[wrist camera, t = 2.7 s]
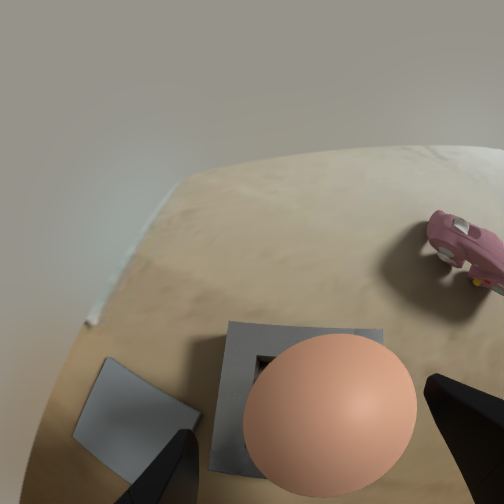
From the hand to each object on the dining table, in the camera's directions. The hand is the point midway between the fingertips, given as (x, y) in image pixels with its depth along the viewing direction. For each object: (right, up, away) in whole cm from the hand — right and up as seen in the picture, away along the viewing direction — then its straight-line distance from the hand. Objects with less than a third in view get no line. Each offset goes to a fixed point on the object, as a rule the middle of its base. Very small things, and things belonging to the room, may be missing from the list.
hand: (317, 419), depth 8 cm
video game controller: (+16, +4, +11) cm, 20 cm away
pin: (+1, -4, +7) cm, 8 cm away
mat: (-11, -7, +7) cm, 14 cm away
